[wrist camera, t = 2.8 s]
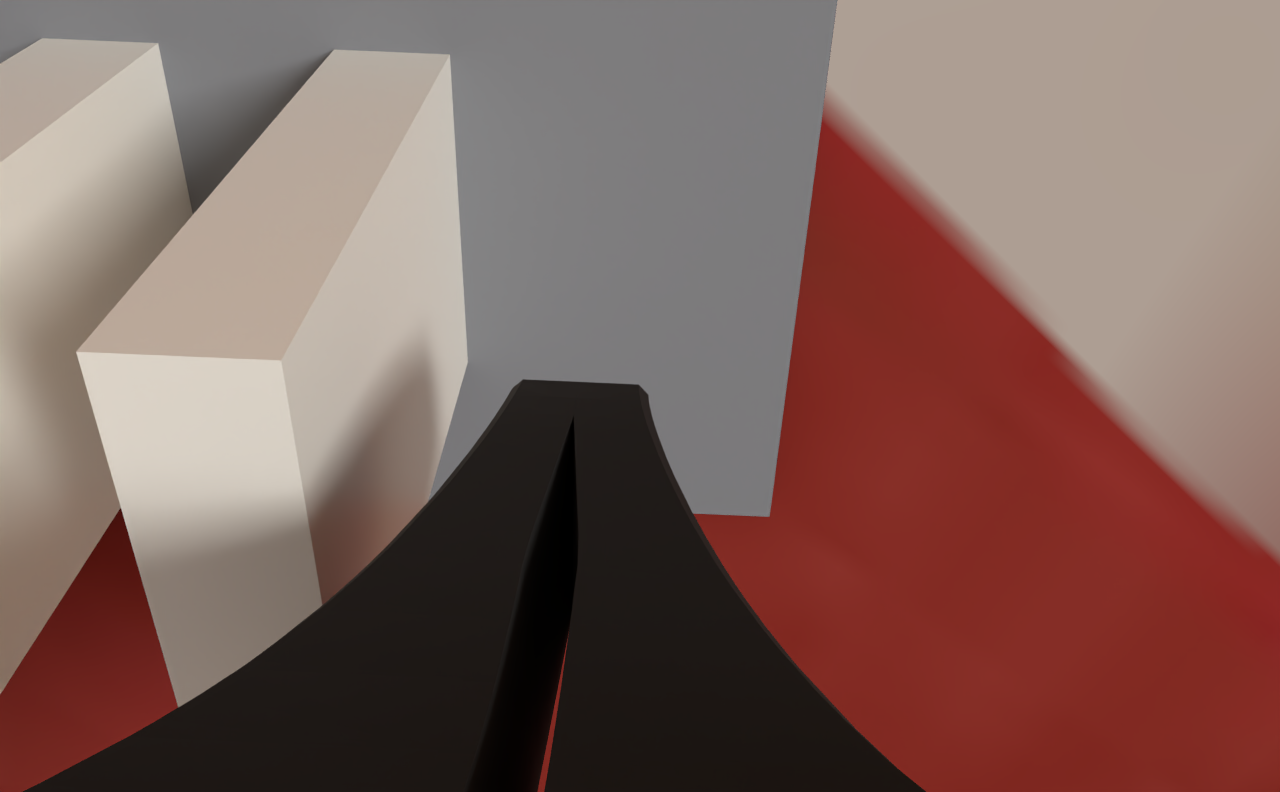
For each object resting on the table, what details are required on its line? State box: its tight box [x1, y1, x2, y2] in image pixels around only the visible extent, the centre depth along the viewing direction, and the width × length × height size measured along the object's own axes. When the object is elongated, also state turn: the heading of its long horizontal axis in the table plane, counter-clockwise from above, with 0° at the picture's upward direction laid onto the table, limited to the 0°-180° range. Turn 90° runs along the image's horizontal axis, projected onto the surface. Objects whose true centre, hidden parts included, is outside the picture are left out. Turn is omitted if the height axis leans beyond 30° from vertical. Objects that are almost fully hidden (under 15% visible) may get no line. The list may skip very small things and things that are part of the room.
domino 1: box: [0, 38, 193, 694], centre depth 13 cm, size 2×5×8 cm, turn 178°
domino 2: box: [76, 50, 468, 707], centre depth 13 cm, size 2×5×8 cm, turn 178°
